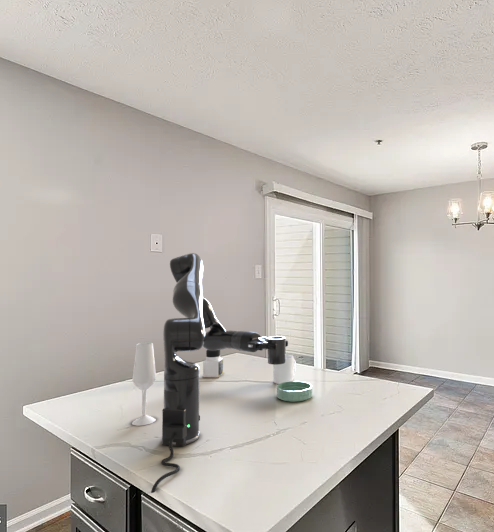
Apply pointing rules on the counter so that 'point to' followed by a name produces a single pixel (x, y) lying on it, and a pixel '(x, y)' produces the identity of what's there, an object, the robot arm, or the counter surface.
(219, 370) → the medicine bottle
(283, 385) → the bowl
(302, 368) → the counter surface
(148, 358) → the champagne flute
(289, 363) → the mug
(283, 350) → the cup
